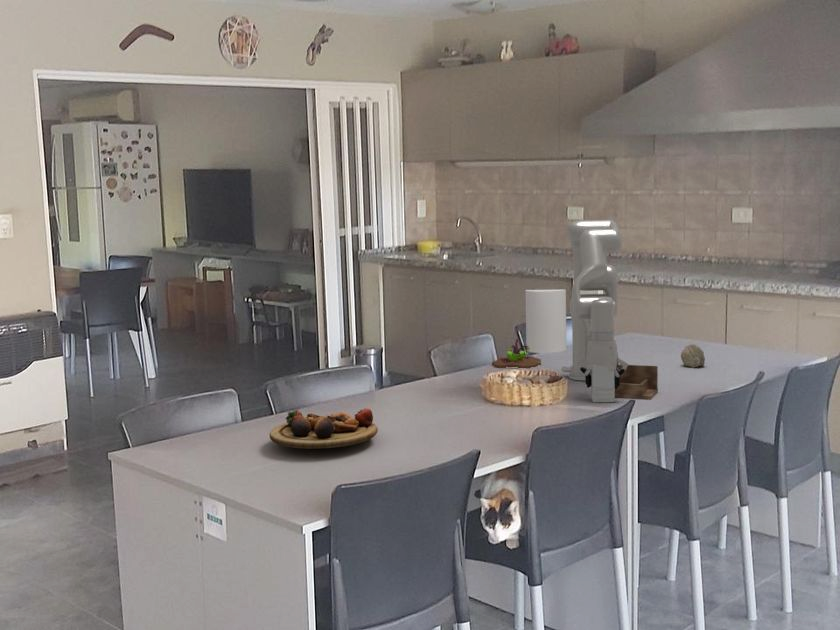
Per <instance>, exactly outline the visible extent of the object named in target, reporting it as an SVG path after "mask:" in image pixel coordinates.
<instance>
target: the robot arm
mask: <svg viewBox="0 0 840 630" xmlns="http://www.w3.org/2000/svg"><path fill="white" fill-rule="evenodd" d="M566 233H567V239H568V242H569V245H570V247H571V251H572V255H573V259H572V260H573V265H572V266H573V267H572V268H573V272H572V273H573V283H572V284H573V285H572V288H571V298H570V301H569V311H570V312H569V313H570V317H571V326H572V327H571V330H572V341H571V343H572V365H570V366H564V365H563V366H562V367H561V371H562V372H563V373H569V374H568V379H569V380H574V381H582V382H583V381H584V382H585V385H586V388H587V389H588V388H591V370H592V365H607V366H608V369H609V371H614V374H615V377H614V381H615V389H617V388H618V386H620V376H621V375H622V374H623V373H624V372H625V370H626V369H627V367H628V365H629V363H628V362H625V361H624V360H623V359H621V358H619V352H618V344H617V341H616V339H614V338H615V333H614V332H615V331H614V328H615V327H614V326H615V325H614V323H615V320H614V319H615V317H616V316H617V313H618V274H617V270H616V267H614V265H612V264H607V255H606V254H611V253H612V254H613V253H614V254H616V253H619V252H620V251H621V249H622V246H623V239H622V234H621V230H620V228H619V227H618V225H617V223H616V222H615V221H614V220H612V219H595V220H593V219H589V220H587V219H585V220H574V221H572V222H569V224H568V225H567V231H566ZM581 291H584V292H585V291H586V292H587V291H588V292H589V291H592V292H593V291H603V292H604V293H581ZM618 364H621V365H622V366H623V368H622V369H621V370H620V371H619V370H618V369H617V368H618Z"/></svg>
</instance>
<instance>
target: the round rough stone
mask: <svg viewBox="0 0 840 630" xmlns="http://www.w3.org/2000/svg"><path fill="white" fill-rule="evenodd" d="M680 358H681V362H682V364H683V365H685V367H687V366H688V368H692V367H693V369H694V368H700V367H704V365H705V361H706V358H705V355H704V351H703V349H702V348H701V347H700V346H699V345H697V344H695V343H694V344H693V343H689V344H686V345H684V349H682V350H681V353H680ZM699 366H700V367H699Z"/></svg>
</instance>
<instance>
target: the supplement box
mask: <svg viewBox="0 0 840 630" xmlns="http://www.w3.org/2000/svg"><path fill="white" fill-rule="evenodd" d="M590 398H591V400H592V402H593V403H615V402H616V400H615V399H616V398H615V381H614V371H609V369H608V366H607V365H592V370H591V387H590Z"/></svg>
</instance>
